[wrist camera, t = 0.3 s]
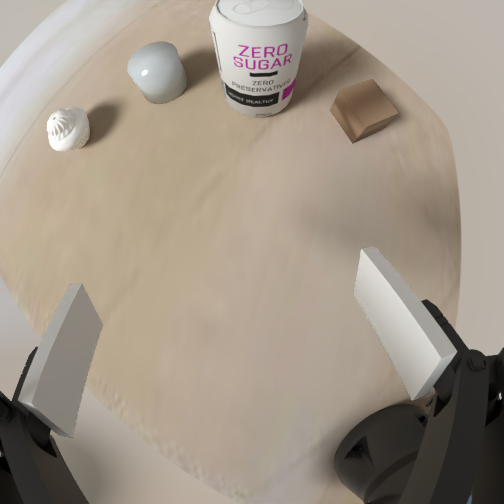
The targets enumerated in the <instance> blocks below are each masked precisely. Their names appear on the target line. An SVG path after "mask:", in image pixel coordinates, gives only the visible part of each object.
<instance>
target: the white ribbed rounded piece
mask: <svg viewBox="0 0 504 504" xmlns="http://www.w3.org/2000/svg"><path fill="white" fill-rule="evenodd" d="M47 131H48V133H49V142H50V145H51V146H52V148H53V149H55V150H57V151H66V152H67V151H71V150H75V149H79V148H81V147H82V146H84V145H85V144H86V143H87V141H88V139H89V137H90V128H89V120H88V118H87V115H86V113H85V111H84V110H83V109H81V108H79V107H70V108H67V109H59V110H56V111H55V112H54V113H52V115H51V116H50V117H49V120H48V123H47Z"/></svg>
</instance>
